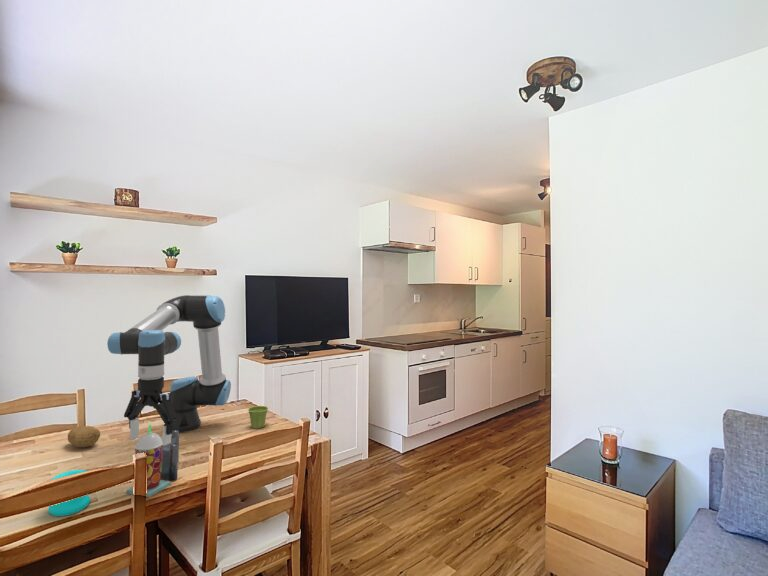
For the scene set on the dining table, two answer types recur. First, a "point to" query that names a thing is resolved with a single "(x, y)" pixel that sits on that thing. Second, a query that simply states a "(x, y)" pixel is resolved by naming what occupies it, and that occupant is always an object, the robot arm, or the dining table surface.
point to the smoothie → (151, 456)
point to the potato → (83, 436)
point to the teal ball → (71, 505)
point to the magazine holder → (171, 458)
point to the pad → (154, 490)
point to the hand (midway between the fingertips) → (150, 441)
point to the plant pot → (258, 416)
